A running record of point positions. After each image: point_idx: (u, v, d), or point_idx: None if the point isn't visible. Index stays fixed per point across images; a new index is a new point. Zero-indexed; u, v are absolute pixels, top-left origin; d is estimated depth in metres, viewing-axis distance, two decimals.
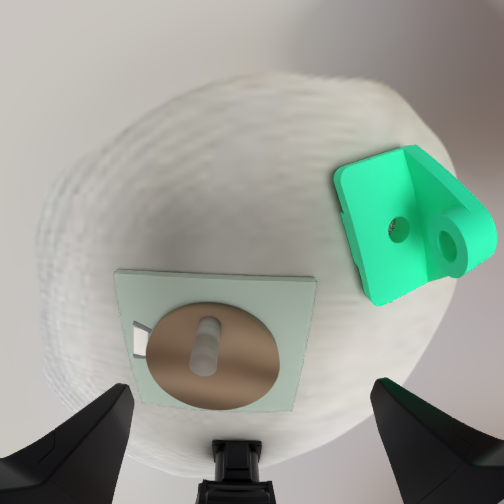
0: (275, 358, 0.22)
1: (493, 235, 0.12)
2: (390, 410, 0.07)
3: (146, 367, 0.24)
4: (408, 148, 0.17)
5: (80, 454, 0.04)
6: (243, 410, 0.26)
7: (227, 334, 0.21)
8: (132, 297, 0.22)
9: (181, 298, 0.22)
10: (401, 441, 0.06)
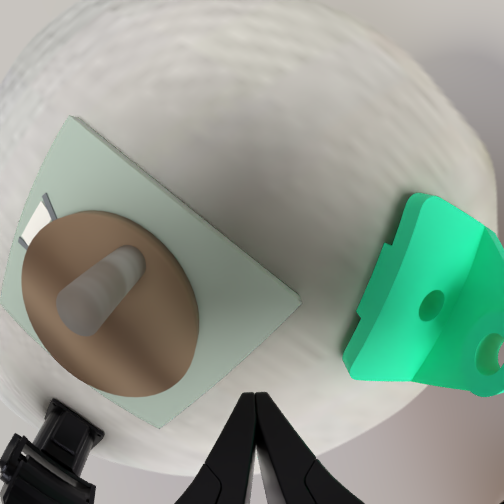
0: (183, 365, 0.14)
1: None
2: (257, 430, 0.07)
3: None
4: (489, 229, 0.12)
5: None
6: (103, 393, 0.17)
7: (143, 291, 0.13)
8: (65, 160, 0.12)
9: (119, 202, 0.13)
10: None
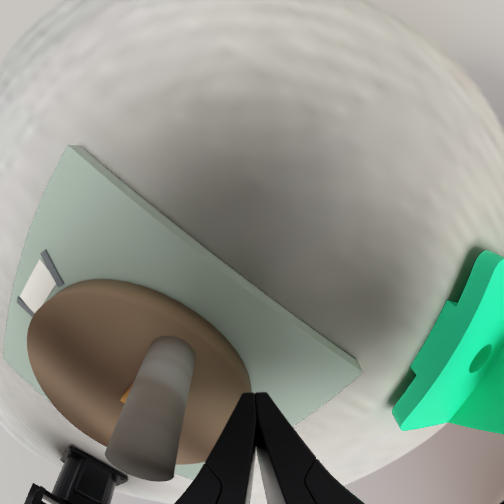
0: None
1: None
2: (257, 430, 0.07)
3: (27, 327, 0.11)
4: None
5: None
6: None
7: (190, 383, 0.10)
8: (66, 209, 0.09)
9: (149, 272, 0.10)
10: None
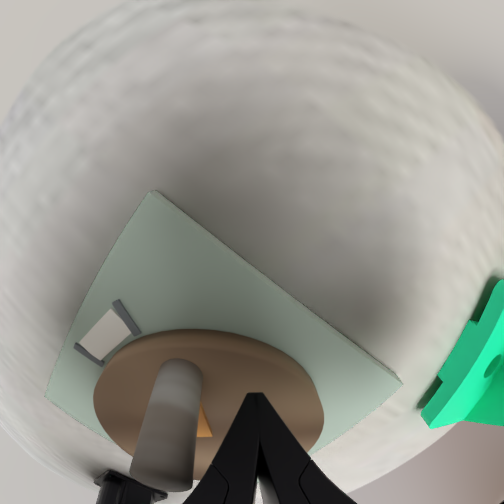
0: (315, 408, 0.11)
1: None
2: None
3: (85, 371, 0.11)
4: None
5: (249, 480, 0.05)
6: None
7: (217, 386, 0.10)
8: (149, 260, 0.10)
9: (242, 320, 0.11)
10: None
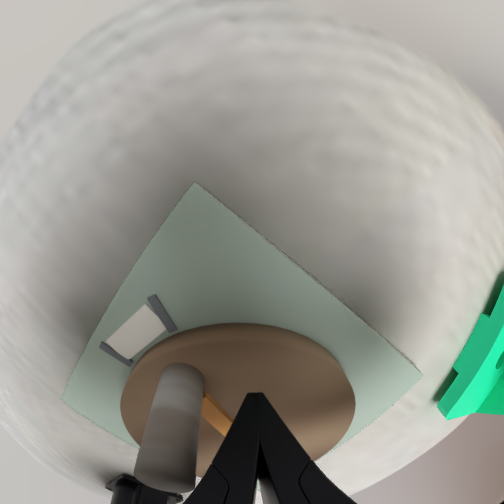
0: (334, 375, 0.11)
1: None
2: None
3: (110, 371, 0.11)
4: None
5: (249, 480, 0.05)
6: None
7: (220, 380, 0.10)
8: (190, 253, 0.10)
9: (282, 313, 0.11)
10: None
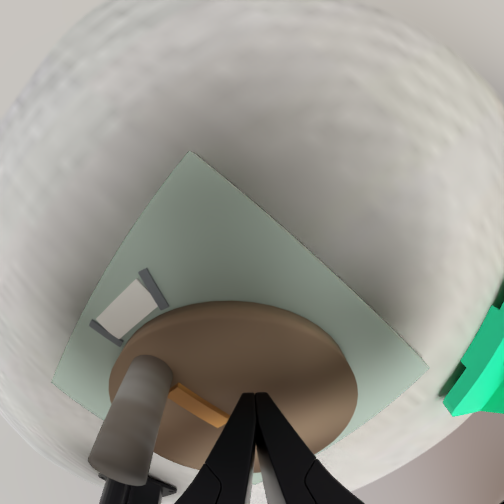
0: (310, 345, 0.10)
1: None
2: (257, 430, 0.07)
3: (100, 352, 0.11)
4: None
5: None
6: None
7: (187, 367, 0.10)
8: (184, 224, 0.10)
9: (281, 292, 0.11)
10: None
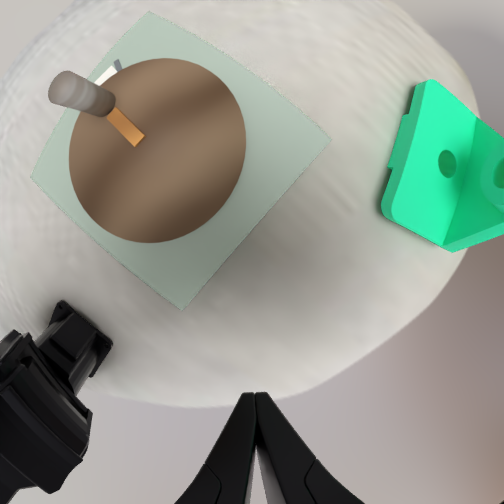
0: (197, 70, 0.13)
1: None
2: (257, 430, 0.07)
3: None
4: None
5: None
6: (126, 263, 0.18)
7: (124, 94, 0.13)
8: (141, 37, 0.13)
9: (187, 59, 0.14)
10: None
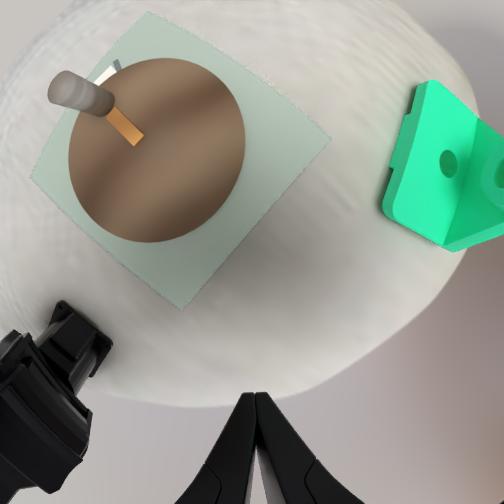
0: (196, 69, 0.13)
1: None
2: (257, 430, 0.07)
3: None
4: (481, 121, 0.14)
5: None
6: (126, 262, 0.18)
7: (124, 94, 0.13)
8: (140, 36, 0.13)
9: (186, 59, 0.14)
10: None
